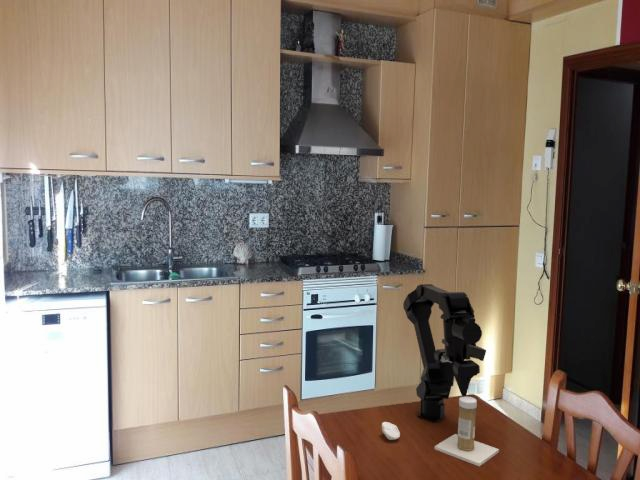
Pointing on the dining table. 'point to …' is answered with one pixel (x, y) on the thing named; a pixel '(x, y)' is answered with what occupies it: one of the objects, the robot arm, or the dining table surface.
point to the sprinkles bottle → (466, 423)
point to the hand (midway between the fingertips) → (457, 390)
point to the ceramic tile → (474, 456)
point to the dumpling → (390, 430)
